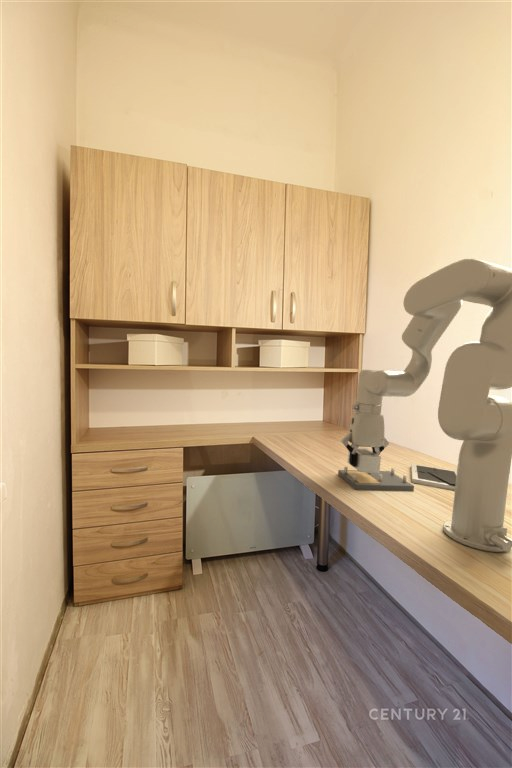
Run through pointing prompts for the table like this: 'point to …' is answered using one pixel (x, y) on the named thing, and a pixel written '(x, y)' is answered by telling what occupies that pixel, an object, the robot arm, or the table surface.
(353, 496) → the table surface
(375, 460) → the block
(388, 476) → the tray
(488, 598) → the table surface
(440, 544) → the table surface
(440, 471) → the picture frame
